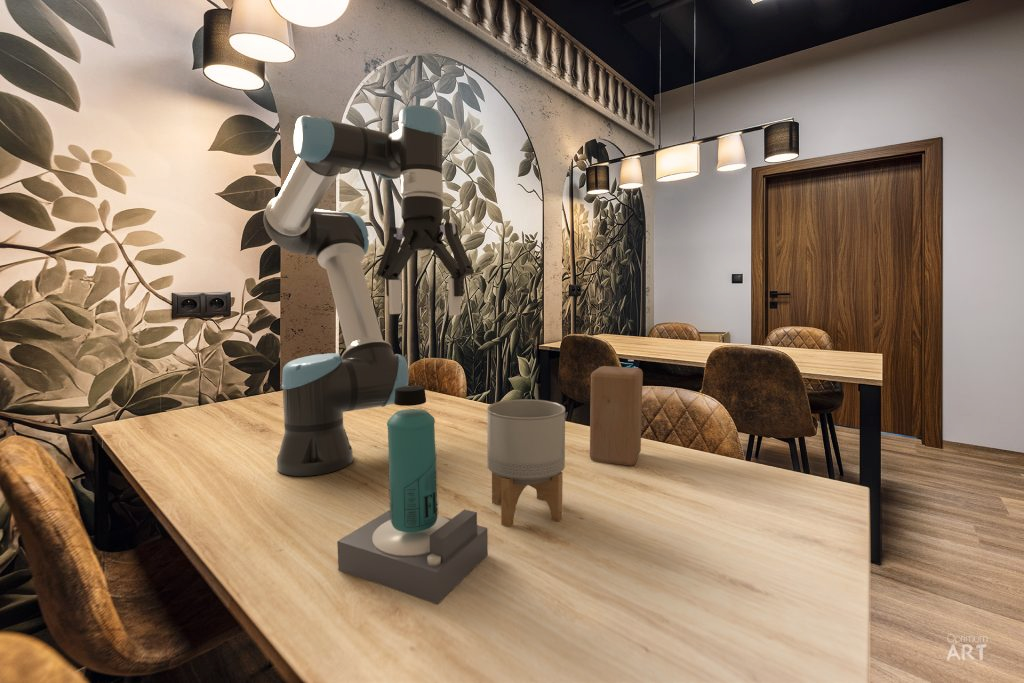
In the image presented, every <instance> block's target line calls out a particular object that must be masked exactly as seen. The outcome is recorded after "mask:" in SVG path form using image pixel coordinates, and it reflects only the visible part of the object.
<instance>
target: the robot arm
mask: <svg viewBox="0 0 1024 683" xmlns="http://www.w3.org/2000/svg"><path fill="white" fill-rule="evenodd" d="M398 118H399V119H398V121H397V122H398V124H397V125H398V128H399V129H397V130H396V131H394V132H392V133H389V132H383V131H380V130H375V129H371V128H367V127H363V126H362V127H361V126H357V125H353V124H348V123H345V122H340V121H336V120H333V119H329V118H326V117H321V116H320V117H318V116H311V115H301V116H299V117H298V118H297V120H296V122H295V126H294V127H295V128H294V130H293V149H294V152H295V155H296V156H297V158H296V160H295V162H294V163H293V165H292V168H291V170H290V171H289V174H288V176H287V177H286V179H285V181H284V183H283V185H282V187H281V189H280V191H279V193H278V195H277V196H276V197H273V198H271V200H269V202H268V203H267V205H266V207H265V208H264V209H265V210H264V211H263V218H262V219H263V220H262V222H263V225H264V228H265V231H266V233H267V235H268V236H269V238H270V239H271V240H272V241H273V242H274V243H275V244H276V245H277V246H279V247H280V248H281V249H284V250H285V251H287V252H288V253H292V254H296V255H304V256H316V260H317V263H318V265H319V266H320V267H321V268H322V269H325V271H326V273H327V276H328V281H329V285H330V290H331V293H332V297H333V300H334V305H335V309H336V313H337V317H338V321H339V325H340V328H341V332H342V336H343V340H344V345H345V348H346V349H345V351H343V353H342V355H340V354H339V353H333V352H332V353H328V352H327V353H323V354H322V353H319V354H312V355H308V356H302V357H300V358H296V359H295V358H294V359H292V360H290V361H289V362H287V363H285V365H284V366H283V368H282V373H281V375H282V377H281V378H282V379H281V380H282V382H281V389H282V398H283V399H282V401H283V402H282V403H283V419H284V420H283V421H284V423H283V424H284V434H283V438H282V441H281V444H280V449H279V453H278V455H277V457H276V468H277V471H278V472H279V473H281V474H283V475H286V476H292V477H310V476H311V477H312V476H318V475H324V474H325V475H326V474H329V473H332V472H333V473H334V472H336V471H339V470H341V469H344V468H346V467H348V466H349V465H350V464H352V462H353V461H354V457H353V456H354V455H353V454H354V453H353V452H354V450H353V448H352V446H351V445H350V444H351V443H350V441H349V440H350V439H349V437H348V435H347V432H346V429H345V426H344V413H346V412H352V411H353V412H354V411H359V410H365V409H372V408H380V407H386V406H389V405H393V404H394V399H395V389H396V388H399V387H403V386H409V380H410V376H409V373H410V372H409V366H408V363H407V360H406V358H405V357H404V356H403V355H402V354H399V353H394V351H393V347H392V345H391V343H390V342H388V341H385V340H384V339H383V335H382V332H381V328H380V324H379V321H378V318H377V314H376V311H375V307H374V302H373V300H372V297H371V293H370V291H369V287H368V282H367V279H366V276H365V275H366V274H365V272H364V268H363V265H362V262H363V261H364V259H365V257H366V256H365V255H366V254H367V253H368V250H369V246H370V241H369V231H368V227H367V224H366V223H365V221H364V219H363V218H362V217H361V216H360V215H358V214H356V213H353V212H348V211H345V210H338V211H337V210H327V209H319V208H317V207H318V205H319V204H320V202H321V201H322V199H324V196H325V195H326V193H327V192H328V190H329V189H330V187H331V185H332V184H333V183H334V181H335V180H336V178H337V177H338V175H339V174H340V172H341V171H342V169H343V168H346V169H353V170H357V171H363V172H364V171H365V172H369V173H373V174H375V175H376V176H378V177H379V178H381V179H382V180H387V181H388V180H395V179H397V180H398V179H399V178H400V194H401V196H402V197H403V198H402V199H401V201H400V202H401V203H400V211H401V219H402V221H403V227H402V228H401V227H396V226H390V227H389V228H388V229H389V232H388V240H387V242H386V245H385V249H384V251H383V254H382V257H381V259H380V262H379V266H378V268H377V271H376V275H377V277H381V278H383V279H385V284H386V285H385V286H386V287H385V288H386V290H385V291H386V296H387V297H388V303H389V304H388V305H389V307H388V308H389V309H388V310H389V315H401V314H403V310H402V309H403V307H402V306H403V305H402V280H401V279H400V278H399V276H400V274H401V273H402V272H403V270H404V268H405V267H406V266H407V264H408V262H409V260H410V259H411V257H412V256H413V254H416V253H417V251H419V252H420V251H421V252H422V251H424V250H425V251H427V250H428V251H433V252H434V253H435V255H436V256H437V258H438V259H439V260H440V261H441V263H442V265H443V266H444V267H445V268H446V270H447V271H448V273H449V274H450V275H451V276H450V278H447V280H448V282H447V283H448V284H447V285H448V288H447V289H448V316H461V314H462V313H461V312H462V311H461V309H462V308H461V297H464V294H465V291H464V290H465V282H464V281H465V278H466V277H468V276H470V275H471V276H472V275H474V268H473V266H472V263H471V261H470V258H469V256H468V254H467V252H466V250H465V248H464V245H463V243H462V241H461V239H460V236H459V230H458V229H459V228H458V224H456V223H453V222H449V221H446V222H445V223H444V224H443V223H442V221H443V219H444V202H443V200H442V199H441V198H442V197H443V196H444V190H443V189H444V185H443V182H444V181H443V177H444V176H443V135H444V133H443V131H442V128H443V127H442V116H441V114H440V113H439V112H438V110H436V109H435V108H433V107H428V106H426V105H414V104H413V105H408V106H405V107H403V108H402V109H401V110H400V111H399V117H398ZM442 235H444V236H445V239H446V241H447V243H448V246H449V247H450V248H449V249H450V251H451V252H452V254H453V255H452V254H451V253H450V251H449V250H448V249H447V246H446V244H445V243H444V241H443V240H442ZM403 239H404V240H403ZM394 405H395V404H394Z"/></svg>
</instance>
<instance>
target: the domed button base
mask: <svg viewBox="0 0 1024 683" xmlns="http://www.w3.org/2000/svg"><path fill="white" fill-rule="evenodd" d="M390 512H391V511H390ZM390 515H391V513H389V510H387V511H385V512H384V513H382V514H380V515H378V516H377V517H375V518H374V519H372V520H371V521H368V522H367V523H365V524H364V525H362V526H361V527H358V528H357V529H355V530H354V531H352V532H350V533H349V534H347V535H345V536H343V537H342V538H340V539H338V540H337V546H336V547H337V567H338V571H340V572H344V573H346V574H349V575H352V576H354V577H355V576H356V577H358V578H361V579H364V580H366V581H369V582H372V583H375V584H378V585H381V586H383V587H385V588H388V589H389V588H390V589H393V590H395V591H397V592H401V593H404V594H406V595H409V596H411V597H415V598H418V599H420V600H423V601H427V602H428V603H431V604H435V605H439V604H440V603H441V602H442V601H443V600H444V599H445V598H446V597H447V596H448V595H449V594H450V593H451V592H452V591H453V590H454V589H455V588H456V587H457V586H458V585H459V584H460V583H461V582H462V581H463V580H464V579H465V578H466V577H467V576H468V575H469V574H470V573H471V572H472V571H473V570H475V568H476V567H477V566H478V565H479V564H480V563H482V561H483V560H484V559H485V558H486V557H487V556H488V554H489V553H488V551H489V550H488V547H489V546H488V542H489V541H488V538H489V537H488V535H489V534H488V527H485V526H481V525H478V512H477V511H473V510H469V509H462V510H461V511H460V512H459V513H458V514H456V515H455V516H453V517H452V518H449V517H446V516H442V515H439V514H437V517H438V518H437V521H436V523H435V524H434V525H433V526H432V527H430V528H428V529H426V530H423V531H418V532H402V531H398V530H396V529H395V528H394V527H393V525H392V523H391V518H390V517H391V516H390Z"/></svg>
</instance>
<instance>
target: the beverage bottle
mask: <svg viewBox="0 0 1024 683" xmlns="http://www.w3.org/2000/svg"><path fill="white" fill-rule="evenodd" d="M426 403H427V396H426V390H425V387H424V386H421V385H408V386H403V387H399V388H396V389H395V399H394V405H396V406H400V407H401V406H402V407H405V406H406V407H411V406H421V405H424V404H426ZM435 420H436V419H435V417H434V416H433V415H432V414H431V413H429V411H428V410H425V409H421V408H409V409H408V408H407V409H402V410H401V409H400V410H398V411H396V412H394V413H393V414H392V415H391V416H390V417H389V419H388V420H387V423H386V427H387V440H388V442H387V443H388V444H387V449H388V482H389V483H388V486H387V487H389V488H388V493H389V494H388V497H389V502H388V505H389V509H388V511H389V513H391V515H390V516H391V517H390V518H391V523H392V525H393V527H394V528H395V529H396V530H398V531H402V532H418V531H423V530H426V529H428V528H430V527H432V526H433V525H434V524H435V523H436V521H437V518H438V517H437V515H438V513H439V503H438V487H437V486H438V478H437V476H438V473H437V458H438V456H437V448H436V443H437V442H436V436H435V435H436V434H435V432H436V431H435V422H436V421H435ZM390 511H391V512H390Z"/></svg>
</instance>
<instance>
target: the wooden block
mask: <svg viewBox="0 0 1024 683" xmlns="http://www.w3.org/2000/svg"><path fill="white" fill-rule="evenodd" d="M643 377H644V372H643V370H642V369H641V368H639V367H630V366H627V367H626V366H625V367H623V366H609V365H608V366H605V365H602V366H599V367H597V369H595V370H594V371H592V372H591V374H590V407H589V408H590V410H589V412H590V413H589V415H590V417H589V418H590V419H589V420H590V421H589V422H590V423H589V458H590V460H591V461H593V462H594V461H595V462H601V463H607V464H615V465H624V466H635V464H636V462H637V460H638V458H639V455H640V453H641V451H642V450H641V449H642V415H643V414H642V413H643V412H642V411H643V380H644V379H643Z"/></svg>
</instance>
